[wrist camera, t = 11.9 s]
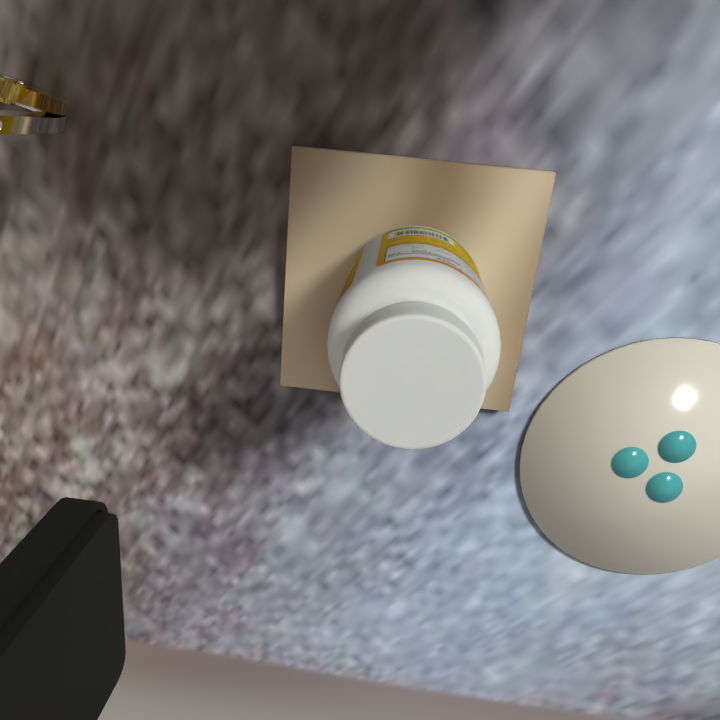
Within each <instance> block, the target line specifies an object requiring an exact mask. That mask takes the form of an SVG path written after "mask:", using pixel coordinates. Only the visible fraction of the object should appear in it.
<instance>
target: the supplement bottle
mask: <svg viewBox="0 0 720 720" xmlns="http://www.w3.org/2000/svg"><path fill="white" fill-rule="evenodd" d="M327 351H328V360H329V364H330V367H331V370H332V373H333V376H334V378H335V380H336V382H337V384H338V386H339V388H340V394H341V398H342V401H343V404H344V407H345V409H346V411H347V412H348V414H349V416H350V417H351V419H352V420H353V421H354V422H355V424H356V425H357V426H358V427H359V428H360V429H361V430H362V431H363V432H364V433H366V434H367V435H368V436H370V437H372V438H373V439H375V440H377V441H379V442H381V443H383V444H386V445H389V446H392V447H397V448H402V449H424V448H429V447H433V446H437V445H440V444H442V443H445V442H447V441H449V440H451V439H453V438H454V437H456V436H457V435H459V434H460V433H461V432H462V431H464V430H465V429H466V428H467V427H468V426H469V425H470V424H471V423H472V421H473V420H474V419H475V417H476V416H477V414H478V412H479V410H480V408H481V406H482V404H483V401H484V397H485V393H486V390H487V389H488V387H489V386H490V384H491V382H492V380H493V378H494V376H495V373H496V371H497V368H498V364H499V359H500V351H501V340H500V331H499V327H498V323H497V319H496V316H495V313H494V310H493V307H492V305H491V303H490V301H489V298H488V296H487V293H486V291H485V288H484V285H483V283H482V280H481V278H480V275H479V272H478V270H477V268H476V265H475V263H474V261H473V260H472V258H471V256H470V254H469V253H468V252H467V250H466V249H465V248H464V247H463V246H462V245H461V244H460V243H459V242H458V241H457V240H455V239H454V238H452V237H451V236H449V235H448V234H446V233H444V232H442V231H439V230H437V229H434V228H430V227H425V226H403V227H398V228H394V229H391V230H389V231H386V232H384V233H382V234H380V235H379V236H377V237H375V238H374V239H373V240H371V241H370V242H369V243H368V244H367V245H366V246H365V247H364V248H363V249H362V250H361V252H360V253H359V254H358V256H357V257H356V259H355V261H354V263H353V264H352V267H351V269H350V271H349V274H348V277H347V279H346V282H345V285H344V287H343V290H342V292H341V295H340V297H339V300H338V302H337V304H336V307H335V310H334V312H333V315H332V318H331V321H330V326H329V331H328V339H327Z"/></svg>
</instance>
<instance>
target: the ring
mask: <svg viewBox="0 0 720 720" xmlns="http://www.w3.org/2000/svg"><path fill="white" fill-rule="evenodd" d="M0 102H3V103H6V104H9V105H14V104H16V105H19V106H21V107H24V108H26V109H29V110H31V111H16V110H0V134H48V133H56V132H60V131H62V130H63V129H64V124H65V119H66V115H67V109H68V103H69V102H68V101H66V100H64V99H62V98H60V97H57V96H55V95H53V94H50V93H48V92H45V91H43V90H40V89H37V88H35V87H32V86H29V85H27V84H25V82H24V81H22V80H19V79H16V78H13V77H10V76H6V75H3V76H1V75H0Z"/></svg>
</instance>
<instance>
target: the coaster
mask: <svg viewBox="0 0 720 720" xmlns="http://www.w3.org/2000/svg"><path fill="white" fill-rule="evenodd" d="M519 470H520V483H521V488H522V493H523V496H524V499H525V502H526V505H527V508H528V510H529V512H530V514H531V516H532V518H533V520H534V521H535V523H536V524H537V525H538V527H539V528H540V530H541V531H542V532H543V533H544V534H545V535H546V536H547V537H548V538H549V539H550V540H551V541H552V542H553V543H554V544H555V545H556V546H557V547H559V548H560V549H561V550H563V551H564V552H565V553H567V554H569V555H571V556H572V557H574V558H576V559H577V560H579V561H582V562H584V563H587V564H589V565H591V566H594V567H597V568H601V569H604V570H608V571H613V572H618V573H624V574H638V575H647V574H663V573H670V572H676V571H681V570H685V569H689V568H693V567H696V566H699V565H702V564H704V563H707V562H710V561H712V560H714V559H716V558H719V557H720V344H718V343H715V342H712V341H706V340H701V339H695V338H678V337H671V338H657V339H650V340H644V341H639V342H634V343H631V344H628V345H624V346H621V347H618V348H615V349H613V350H610V351H608V352H606V353H604V354H601V355H599V356H597V357H595V358H593V359H592V360H590V361H588V362H587V363H585V364H583V365H581V366H580V367H579V368H577V369H576V370H575V371H573V372H572V373H571V374H569V375H568V376H567V377H565V378H564V379H563V380H562V381H561V382H560V383H559V384H558V385H557V386H556V387H555V388H554V389H553V390H552V391H551V392H550V393H549V395H548V396H547V397H546V398H545V400H544V401H543V402H542V403H541V405H540V406H539V408H538V410H537V411H536V413H535V414H534V416H533V418H532V420H531V422H530V424H529V427H528V429H527V431H526V434H525V437H524V440H523V444H522V447H521V454H520V462H519Z"/></svg>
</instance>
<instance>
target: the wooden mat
mask: <svg viewBox="0 0 720 720" xmlns="http://www.w3.org/2000/svg"><path fill="white" fill-rule="evenodd" d="M555 175H556V173H555V172H552V171H543V170H533V169H523V168H513V167H503V166H493V165H483V164H473V163H464V162H454V161H444V160H434V159H424V158H414V157H404V156H395V155H385V154H375V153H365V152H355V151H345V150H335V149H325V148H316V147H306V146H296V145H294V146H292V153H291V173H290V193H289V214H288V234H287V254H286V274H285V295H284V315H283V335H282V355H281V376H280V385H281V386H289V387H298V388H307V389H316V390H324V391H333V392H340V388H339V386H338V384H337V382H336V380H335V378H334V376H333V373H332V370H331V367H330V364H329V360H328V351H327V339H328V331H329V326H330V321H331V318H332V315H333V312H334V310H335V307H336V304H337V302H338V300H339V297H340V295H341V292H342V290H343V287H344V285H345V282H346V279H347V277H348V274H349V271H350V269H351V267H352V264H353V263H354V261H355V259H356V257H357V256H358V254H359V253H360V252H361V250H362V249H363V248H364V247H365V246H366V245H367V244H368V243H369V242H370V241H371V240H373V239H374V238H375V237H377V236H379V235H380V234H382V233H384V232H386V231H389V230H391V229H394V228H398V227H403V226H425V227H430V228H434V229H437V230H439V231H442V232H444V233H446V234H448V235H449V236H451V237H452V238H454V239H455V240H457V241H458V242H459V243H460V244H461V245H462V246H463V247H464V248H465V249H466V250H467V252H468V253H469V254H470V256H471V258H472V260H473V261H474V263H475V265H476V268H477V270H478V272H479V275H480V278H481V280H482V283H483V285H484V288H485V291H486V293H487V296H488V298H489V301H490V303H491V305H492V307H493V310H494V313H495V316H496V319H497V323H498V327H499V331H500V340H501V351H500V359H499V364H498V368H497V371H496V373H495V376H494V378H493V380H492V382H491V384H490V386H489V387H488V389H487V390H486V393H485V397H484V401H483V404H482V406H481V408H482V409H490V410H499V411H508V412H509V408H510V403H511V398H512V393H513V388H514V383H515V378H516V373H517V368H518V363H519V358H520V353H521V348H522V342H523V337H524V332H525V327H526V322H527V317H528V312H529V307H530V302H531V297H532V292H533V287H534V282H535V277H536V272H537V266H538V261H539V256H540V251H541V246H542V241H543V236H544V231H545V226H546V221H547V216H548V211H549V206H550V201H551V195H552V190H553V185H554V180H555Z"/></svg>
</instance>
